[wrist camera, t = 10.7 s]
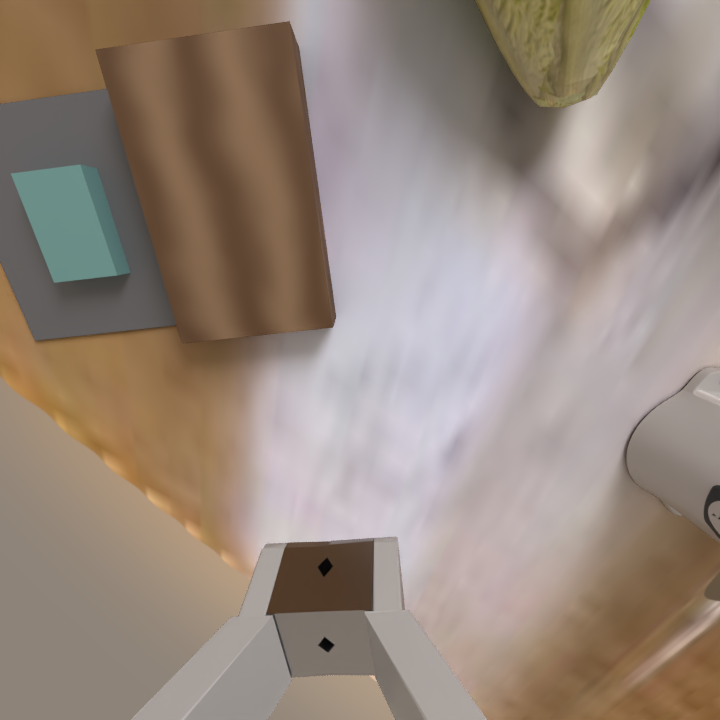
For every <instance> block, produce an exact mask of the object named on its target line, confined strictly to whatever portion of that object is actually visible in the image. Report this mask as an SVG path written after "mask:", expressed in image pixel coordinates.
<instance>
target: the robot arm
mask: <svg viewBox="0 0 720 720" xmlns="http://www.w3.org/2000/svg"><path fill="white" fill-rule="evenodd" d="M626 460H627V467H628V471H629V473H630V475H631V477H632V479H633V480H634V481H635V482H636V483H637V484H638V485H639V486H640V487H641V488H643V489H644V490H646V491H648V492H649V493H651V494H653V495H655V496H656V497H658V498H659V499H661V501H662V502H663V504H664V505H665V507H666V508H667V509H669V510H670V511H671V512H673V513H674V514H676V515H678V516H684V517H685V518H687V519H688V520H689V521H691V522H692V523H693V524H695V525H696V526H697V527H699V528H700V529H701V530H703V531H704V532H705V533H707V534H708V535H709V536H711V537H712V538H713V539H715V540H716V541H717V542H719V543H720V368H715V367H709V368H705V369H703V370H701V371H700V372H699V373H697V374H696V375H695V376H694V377H693V378H692V379H691V381H690V382H689V383H688V384H687V385H686V386H685V387H684V389H683V390H681V391H680V392H679V393H677V394H676V395H674V396H673V397H671V398H669V399H668V400H666V401H664V402H663V403H661V404H660V405H659V406H657V407H656V408H655V409H654V410H652V411H651V412H650V413H649V414H648V415H647V416H646V417H645V418H644V419H643V420H642V422H641V423H640V424H639V425H638V427H637V428H636V430H635V432H634V433H633V435H632V437H631V439H630V442H629V445H628V449H627V458H626ZM323 675H375V677H376V680H377V682H378V684H379V686H380V688H381V690H382V692H383V695H384V697H385V699H386V701H387V703H388V705H389V707H390V710H391V712H392V714H393V716H394V718H395V720H487V719H486V717H485V716H484V714H483V713H482V712H481V710H480V709H479V707H478V706H477V705H476V703H475V702H474V700H473V699H472V698H471V696H470V695H469V693H468V692H467V690H466V689H465V688H464V686H463V685H462V683H461V682H460V681H459V679H458V678H457V676H456V675H455V674H454V672H453V671H452V669H451V668H450V666H449V665H448V664H447V662H446V661H445V659H444V658H443V657H442V655H441V654H440V652H439V651H438V650H437V648H436V647H435V645H434V644H433V642H432V641H431V640H430V638H429V637H428V635H427V634H426V633H425V631H424V630H423V628H422V627H421V626H420V624H419V623H418V621H417V620H416V619H415V617H414V616H413V614H412V613H411V611H410V610H405V605H404V594H403V585H402V575H401V566H400V557H399V547H398V539H397V537H383V538H375V539H374V538H366V539H351V540H336V541H330V542H294V543H273V544H266V545H265V546H264V548H263V549H262V551H261V553H260V556H259V559H258V562H257V565H256V567H255V570H254V573H253V576H252V579H251V582H250V584H249V587H248V590H247V593H246V596H245V599H244V601H243V604H242V607H241V610H240V612H239V615H238V616H236V617H231V618H230V619H229V620H228V621H227V622H226V623H225V624H224V625H223V626H222V627H221V628H220V629H219V630H218V631H217V632H216V633H215V634H214V635H213V636H212V637H211V638H210V639H209V640H208V641H207V642H206V643H205V644H204V645H203V646H202V647H201V648H200V649H199V650H198V652H196V653H195V654H194V656H193V657H192V658H191V659H190V660H189V661H188V662H187V663H186V664H185V665H184V666H183V667H182V668H181V669H180V670H179V671H178V672H177V673H176V674H175V675H174V676H173V677H172V678H171V679H170V680H169V681H168V682H167V683H166V684H165V685H164V686H163V687H162V688H161V690H160V691H158V693H157V694H155V696H154V697H153V698H152V699H151V700H150V701H149V702H148V703H147V704H146V705H145V706H144V707H143V708H142V709H141V710H140V711H139V712H138V713H137V714H136V715H135V716H134V717H133V718H132V719H131V720H268V718H269V717H270V715H271V714H272V712H273V710H274V709H275V707H276V705H277V704H278V702H279V700H280V699H281V697H282V696H283V694H284V692H285V691H286V689H287V688H288V686H289V684H290V683H291V681H292V680H291V677H307V676H323Z"/></svg>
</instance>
